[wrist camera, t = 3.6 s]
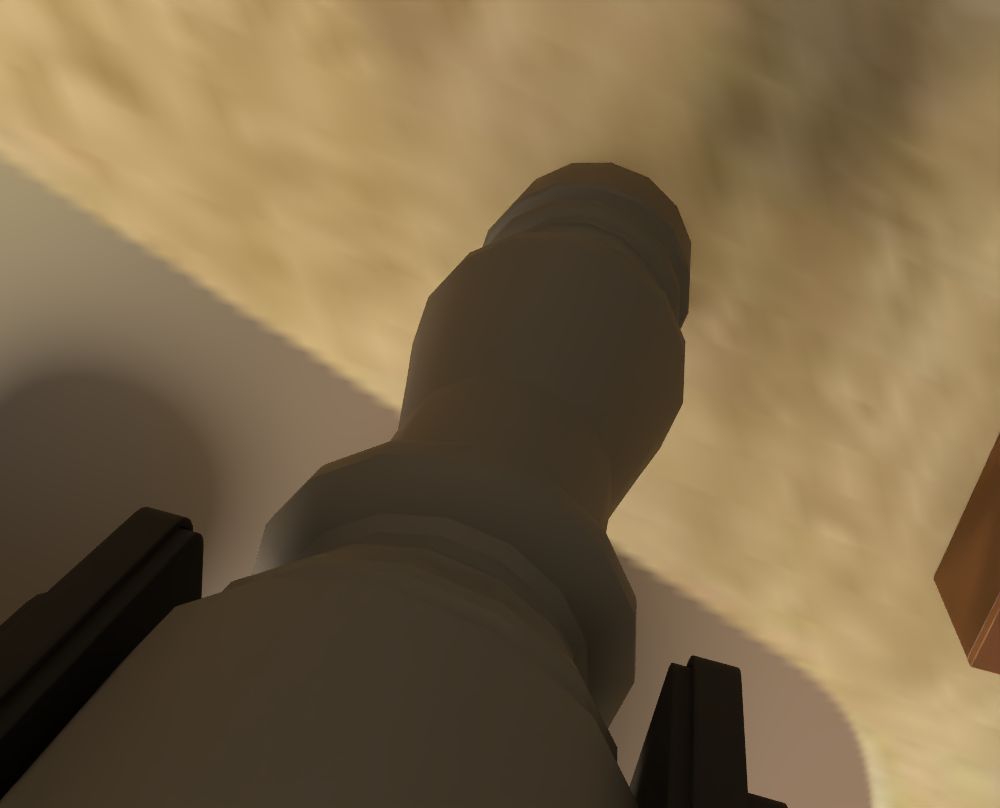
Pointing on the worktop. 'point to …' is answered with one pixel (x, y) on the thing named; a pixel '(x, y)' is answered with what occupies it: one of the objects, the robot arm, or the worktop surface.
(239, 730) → the candle holder
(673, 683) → the robot arm
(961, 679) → the worktop surface
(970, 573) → the brown wooden block
